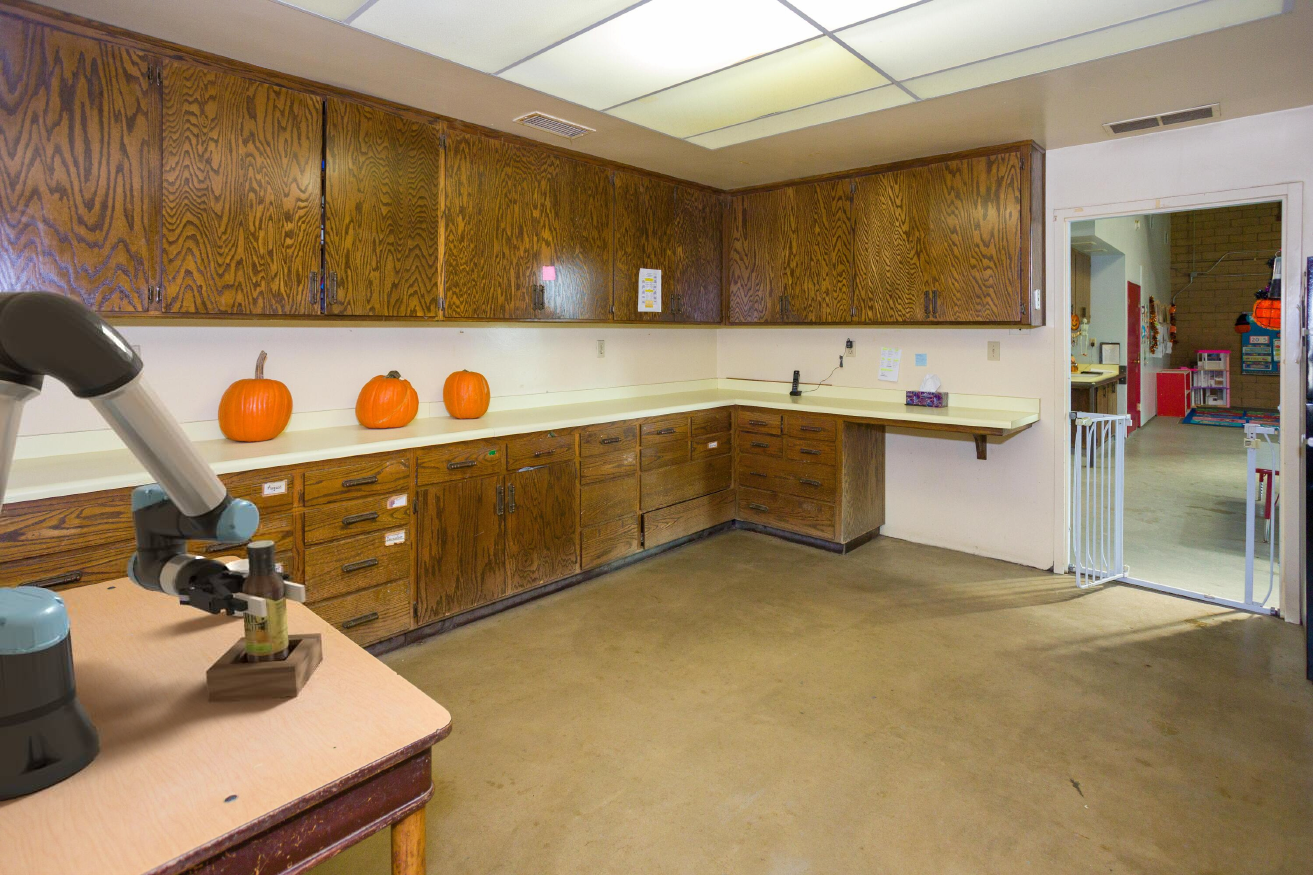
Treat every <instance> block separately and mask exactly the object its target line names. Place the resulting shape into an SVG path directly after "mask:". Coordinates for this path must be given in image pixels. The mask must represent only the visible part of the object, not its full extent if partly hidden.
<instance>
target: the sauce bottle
mask: <svg viewBox="0 0 1313 875" xmlns="http://www.w3.org/2000/svg"><path fill="white" fill-rule="evenodd" d="M245 550H246V555H247V557H248V559H249V562H248V563H249V572H250V573H249V575H248V577H247V578H246V580H245V582H244V584H243V589H242V590H243V592H242V593H243V594H247V595H251V596H255V597H258V598H262V599H265V600H266V611H267V616H265V617H259V616H255V615H252V614H248V613H244V612H243V617H242V618H243V626H244V627H243V628H244V637H245V648H246V652H247V659H248V661H249V662H250V663H257V662H275V661H282V660H284V659H285V658H286V657H287V656H288V653H289V652H288V635H289V632H288V629H289V628H288V614H287V599H286V595H285V590H284V580H283V579H282V577H281V576H280V575H279V573H278V572H279V571H277V570H276V566H277V564H276V562H275V551H276V543H275V542H274V541H273V540H269V539H268V540H257V541H252V542H250V543H248V544H246V547H245Z"/></svg>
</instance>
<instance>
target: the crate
mask: <svg viewBox="0 0 1313 875" xmlns="http://www.w3.org/2000/svg"><path fill="white" fill-rule="evenodd" d="M322 644H323V643H322V632H318V633H317V632H315V633H300V634H299V633H298V634H295V633H294V634H288V652H289V653H288V656H287V657H286V658H285V659H284V660H282V661H275V662H257V663H250V662H249V661H248V659H247V652H246V648H245V636H242V637H240V638H239V639H238V640H237V641H236V642H234V644H233V645H232V646H231V647H230V648H229V649H228V650H227V651H226V652H225V653H224V654H223V655H222V656H220V657H219V659H218V660H216V661H215V662H214V663H213V665H211V666H210V667H209V668H208V669H207V670H206V671H205V673H206V685H207V698H208V702H209V703H210V702H211V703H212V702H225V701H230V702H231V701H244V700H246V701H247V700H258V699H260V700H261V699H274V697H278V698H285V697H284V696H293V697H298V696H299V694H300V693H301V691H302V690H303V689H302V688H304V687H305V686H306V684H307V683H308V682H309V680H310V679H311V677H312V676H313V675H314V673H315V672H316V671H315V670H317V669H318V668H317V667H319V666H320V665H321V664H320V662H321V661H322V660H324V659H323V658H324V657H323V645H322ZM322 662H323V661H322ZM322 662H321V663H322ZM319 664H320V665H319ZM318 665H319V666H318ZM316 668H317V669H316ZM314 671H315V672H314ZM313 672H314V673H313ZM312 674H313V675H312ZM311 675H312V676H311ZM310 676H311V677H310ZM309 678H310V679H309ZM307 681H308V682H307ZM306 682H307V683H306ZM304 685H305V686H304ZM299 692H300V693H299ZM297 695H298V696H297ZM272 697H273V698H272Z"/></svg>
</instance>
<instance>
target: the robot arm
mask: <svg viewBox="0 0 1313 875" xmlns="http://www.w3.org/2000/svg"><path fill="white" fill-rule="evenodd" d="M144 370H145V363H144V362H143V360H142V359H141V357H140V356H139V355H138V354H137V352H136V351H135V350H134V348H133V347H132V345H131V344H130V343H129V342H128V341H127V340H126V338H125V337H123V335H122V334H121V333H120V332H119V331H118V330H117V329H116V328H115V327H114V326H113V325H111V323H109V322H108V321H107V320H106V319H105V318H104V317H102V316H101V315H100V314H99V313H97V312H96V311H95V310H94V309H92V308H91V307H89V306H87V305H86V304H84V303H83V302H81V301H79V300H77V299H75V298H72V297H70V296H68V295H66V294H65V295H64V294H61V293H58V292H53V291H45V290H32V291H1V292H0V515H1V513H2V509H3V505H4V501H5V500H4V499H5V495H6V490H7V486H8V482H9V481H8V480H9V477H10V472H11V467H12V463H13V462H12V461H13V458H14V453H15V448H16V443H17V440H18V439H17V438H18V435H19V432H20V431H19V429H20V425H21V420H22V416H23V411H24V406H25V405H26V403H28V402H29V401H31V400H33V399H35V398H36V397H38V396H40V395H41V394H42V389H43V383H44V379H45V376H49V377H51V378H53V379H55V380H57V381H59V382H61V384H63V385H65V386H66V388H68V389H69V391H70V392H71V393H72V395H74V397H75V398H77V399H80V400H87V401H89V402H90V404H91V405H92V406H93V407H94V408H95V410H96V411H97V412H98V413H99V415H100V416H101V417H102V418H103V419H104V421H105V422H106V423H107V424H108V425H109V427H110V428H111V429H112V430H113V431H114V432H115V434H116V435H117V436H118V438H119V439H120V440H121V441H122V442H123V443H124V445H125V446H126V447H127V449H128V450H129V451H130V452H131V453H132V454H133V456H134V457H135V458H136V459H137V460H138V462H139V463H140V464H141V466H143V468H144V469H145V470H146V472H147V473H148V474H149V475H150V476H151V478H152V479H153V480H154V482H156V483H150V484H145V485H141V486H138V487H135V489H133V490H132V491H131V498H130V500H131V511H130V513H131V515H132V522H133V531H134V537H135V538H134V539H135V544H136V545H135V546H136V548H135V549H136V550H135V552H134V554H132V555H131V557H130V559H129V561H128V563H127V566H126V573H127V577H128V578H129V580H130V581H131V582H132V583H133V584H135V585H137V586H139V587H141V588H143V589H145V590H147V591H150V592H158V593H161V594H166V595H169V596H172V597H176V598H178V599H179V605H180V606H189V607H192V608H196V609H197V610H201V611H202V612H203V611H204V612H206V613H208V614H211V615H218V614H221V613H222V611H223V610H225V613H226V616H227V617H229V616H233V615H234V614H235V611H239V612H244V613H248V614H252V615H255V616H259V617H265V616H267V611H266V600H265V599H262V598H258V597H255V596H251V595H247V594H243V593H242V592H243V590H242V589H243V584H244V582H245V580H246V578H247V577H248V575H249V573H250V572H248V573H242V572H239V571H231V570H229V569H228V567H227V566H226V564H225V563H223V562H222V561H219V560H217V559H212V558H209V557H204V556H201V555H195V554H190V553H188V545H187V543H188V542H187V541H197V542H210V543H218V544H219V543H220V544H227V543H228V544H229V543H235V544H236V543H237V544H240V543H245V542H246V541H248V540H250V539H251V538H252V537H253V536H254V534H255V532H257V530H258V527H259V523H260V514H259V510H258V507H257V506H256V505H255V504H254V502H251V501H250V500H244V499H242V498H234V497H233V496H232V494H230V492H229V491H228V489H227V488H226V486H225V485H224V484H223V482H222V481H221V480H220V478H219V477H218V475H217V474H216V473H215V472H214V470H213V469H212V467H211V466H210V465H209V463H208V462H207V460H206V459H205V458H204V457H203V455H202V453H201V452H200V451H199V449H198V448H197V447H196V446H195V444H194V443H193V441H192V440H191V439H190V438H189V436H188V435H187V433H186V432H185V430H184V429H183V428H182V426H181V425H180V424H179V422H178V421H177V419H176V418H175V417H174V415H173V414H172V413H171V411H170V410H169V409H168V407H167V406H166V404H165V403H164V402H163V400H162V398H160V396H159V395H158V394H157V392H156V391H155V389H154V388H153V386H152V385H151V384H150V383H149V381H148V380H147V378H146V377H145V376H144V374H143V373H144ZM277 572H278V573H279V575H280V576H281V577H282V579H283V580H284V590H285V595H286V600H289V601H294V602H298V603H305V602H306V601H307V600H306V586H305V585H304V584H300V583H296V582H292V581H291V574H290V573H286V572H280V571H277ZM240 588H241V589H240ZM233 594H235V598H234V597H233ZM100 749H101V745H100V738H99V733H98V729H97V728H96V726H95V725H94V724H93V722H92V720H91V718H90V717H89V715H88V713H87V711H86V709H85V708H84V707H83V704H82V703H81V701H80V699H79V698H78V691H77V685H76V674H75V665H74V655H73V646H72V636H71V619H70V617H69V615H68V610H67V607H66V603H65V601H64V599H63V598H62V596H61V595H60V594H58V593H57V592H55V591H53V590H50V589H48V588H43V587H38V586H30V585H29V586H27V585H19V586H17V587H9V586H2V587H0V801H3V800H8V799H12V798H16V797H20V796H24V795H27V794H30V793H33V792H36V791H39V790H43V789H45V788H48V787H50V786H52V785H55V784H57V783H58V782H61V781H64V780H65V779H67V778H69V777H71V776H72V775H74V774H76V773H78V772H79V771H81V770H83V769H84V768H85V767H87V766H88V765H89V764H90V763H91V762H92V761H93V760H94V759H95V758H96V757H97V755H98V754H99V752H100Z"/></svg>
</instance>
